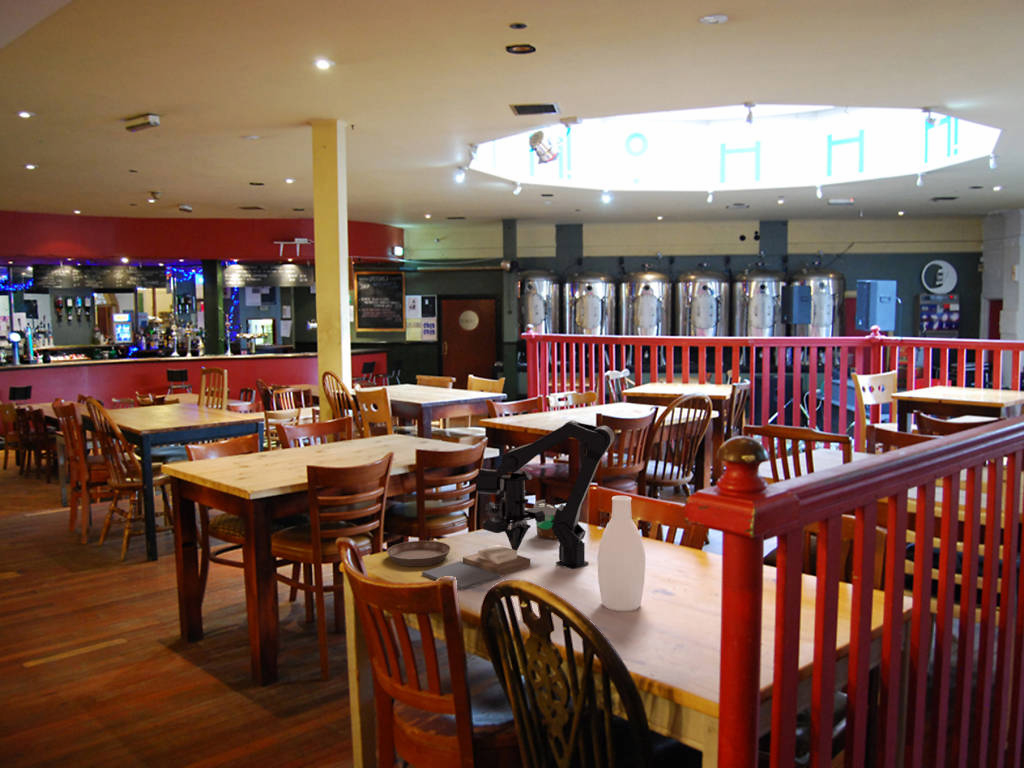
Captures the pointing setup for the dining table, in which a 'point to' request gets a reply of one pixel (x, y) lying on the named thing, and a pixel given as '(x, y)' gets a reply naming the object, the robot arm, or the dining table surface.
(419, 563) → the plant saucer
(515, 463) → the robot arm
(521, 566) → the serving board
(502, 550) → the coaster
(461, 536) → the dining table surface
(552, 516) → the food container
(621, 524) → the bottle
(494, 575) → the bar mat
